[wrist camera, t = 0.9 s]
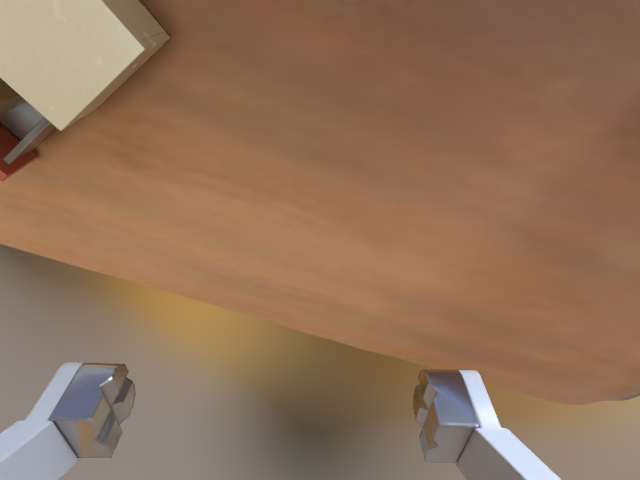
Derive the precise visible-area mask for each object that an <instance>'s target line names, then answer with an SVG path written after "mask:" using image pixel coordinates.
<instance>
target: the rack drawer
mask: <svg viewBox="0 0 640 480" xmlns="http://www.w3.org/2000/svg"><path fill="white" fill-rule="evenodd" d="M0 123H1V124H3V125H4V126H5V127H6V128H7V129H9V130H10V131H11V132H12V133H13V134H15V135H16V136H17V137H18V138H19V139H21V141H20V142H19V141H18V140H16V139H15V138H14V137H13V136H12V135H10V134H9V133H8V132H7V131H6V130H4V129H3V128H2V127H1V126H0V180H1V181H3V180H5V179H6V178H8V177H9V176H11V175H12V174H14V173H15V172H17V171H18V170H20V169H21V168H23V167H25V166H26V165H28V164H29V163H31V162H32V161H33V160H34V159H35V158H36V157H37V156H36V155H35V154H33V153H32V152H31V151H32V150H33V149H35V148H36V147H37V146H38V145H40V144H41V143H42V142H43V141H44V140H45V139H46V138H47V137H48V136H49V135H50V134H51V133H52V132H53V131H54V130H55V129H56V128H57V127H55V126H54V125H53V124H52V123H51V122H50V121H49V120H47V119H46V118H45V117H44V116H43V115H42V114H41V113H40V112H38V111H37V110H36V109H35V108H34V107H33V106H32V105H31V104H29V103H28V102H27V101H26V100H25V99H24V98H23V97H21V99H20V100H19V101H18V102H17V103H16V104H15V105H14V106H13V107H12V108H11V109H10V110H9V111H7V112H4V113H2V114H0Z"/></svg>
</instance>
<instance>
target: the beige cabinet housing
mask: <svg viewBox="0 0 640 480" xmlns="http://www.w3.org/2000/svg"><path fill="white" fill-rule="evenodd" d="M169 39H170V37H169V36H168V34H167V33H166V32H165V31H164V30H163V28H162V27H161V26H160V25H159V24H158V23H157V21H156V20H155V19H154V18H153V17H152V15H151V14H150V13H149V12H148V11H147V9H146V8H145V7H144V6H143V5H142V3H141V2H140V1H139V0H0V78H1V79H2V80H3V81H5V82H6V83H7V84H8V85H9V86H10V87H11V88H12V89H14V90H15V91H16V92H17V93H18V94H19V95H20V96H22V97H23V98H24V99H25V100H26V101H27V102H28V103H29V104H31V105H32V106H33V107H34V108H35V109H36V110H37V111H38V112H40V113H41V114H42V115H43V116H44V117H45V118H46V119H47V120H49V121H50V122H51V123H52V124H53V125H54V126H55V127H57V128H58V129H59V130H60V131H62V130H64V129H65V128H67V127H68V126H70V125H72V124H73V123H75V122H77V121H78V120H80V119H81V118H83V117H85V116H86V115H88V114H89V113H91V112H92V111H94V110H95V109H96V108H98V107H99V106H100V105H101V104H102V103H103V102H104V101H105V100H106V99H107V98H108V97H109V96H110V95H111V94H112V93H113V92H114V91H115V90H116V89H117V88H118V87H119V86H121V85H122V84H123V83H124V82H125V81H126V80H127V79H128V78H129V77H130V76H131V75H132V74H133V73H134V72H135V71H136V70H137V69H138V68H139V67H140V66H141V65H142V64H143V63H145V62H146V61H147V60H148V59H149V58H150V57H151V56H152V55H153V54H154V53H155V52H156V51H157V50H158V49H159V48H160V47H161V46H162V45H163V44H164V43H165V42H166V41H168V40H169Z"/></svg>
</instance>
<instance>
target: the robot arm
mask: <svg viewBox="0 0 640 480" xmlns="http://www.w3.org/2000/svg"><path fill="white" fill-rule="evenodd" d="M127 374H128V369H127V367H126V365H125V364H103V363H76V362H66V363H64V364H63V365H62V366H61V367H60V368H59V369H58V370H57V372H56V373H55V375H54V376H53V378H52V379H51V381H50V382H49V384H48V385H47V387H46V388H45V390H44V392H43V393H42V395H41V396H40V398H39V399H38V401H37V402H36V404H35V405H34V407H33V409H32V410H31V412H30V413H29V414H28V416H27V418H26V419H25V420H19V421H17V422H16V423H15V424H13V425H12V426H10V427H9V428H8V429H6V430H5V431H3V432H2V433H1V434H0V480H59V479H60V478H61V477H62V476H63V475H64V474H65V473H66V472H67V471H68V470H69V469H70V468H71V467H72V466H73V465H74V464H75V463H76V462H77V461H78V460H79V459H78V458H111V457H112V455H113V453H114V450H115V448H116V446H117V444H118V441H119V439H120V437H121V434H122V430H121V427H120V424H121V423H122V422H123V421H124V420H125V419H126V418H128V417H129V415H130V413H131V410H132V408H133V405H134V399H135V386H134V384H133V382H132V381H131V380H130V379H128V378H127V377H126V376H127ZM418 378H419V382H420V384H419V385H417V386H416V387H415V390H414V394H413V406H414V414H415V419H416V422H417V423H418V424H419V425H420V426H421V427H422V431H421V434H420V442H421V446H422V450H423V455H424V459H425V462H435V463H457V464H456V466H457V467H458V468H459V469H460V471H461V472H462V474H463V475H464V476H465V477H466V479H467V480H561V479H560V478H559V477H558V476H557V475H556V474H554V473H553V472H552V471H551V470H550V469H549V468H548V467H547V466H546V465H545V464H544V463H543V462H542V461H541V460H540V459H539V458H537V457H536V455H534V454H533V453H532V452H531V451H530V450H529V449H528V448H527V447H526V446H525V445H524V444H523V443H522V442H521V441H519V439H518V438H517V437H515V436H514V435H513V434H512V433H511V432H510V431H509V430H508V429H505V428H501V426H500V423H499V421H498V418H497V416H496V414H495V411H494V408H493V406H492V403H491V401H490V399H489V396H488V394H487V391H486V389H485V386H484V384H483V381H482V379H481V376H480V374H479V373H478V372H477V371H475V370H421V371H420V373H419V377H418Z"/></svg>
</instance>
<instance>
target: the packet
mask: <svg viewBox="0 0 640 480" xmlns="http://www.w3.org/2000/svg"><path fill="white" fill-rule="evenodd" d="M21 97H22V96H20V95H19V94H18V93H17V92H16V91H15V90H14V89H12V88H11V87H10V86H9V85H8V84H7V83H6V82H5V81H3V80H2V79H1V78H0V114H2V113H4V112H7V111H9V110H10V109H11V108H12V107H13V106H14V105H15V104H16V103H17V102H18V101H19V100H20V99H21Z"/></svg>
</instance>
